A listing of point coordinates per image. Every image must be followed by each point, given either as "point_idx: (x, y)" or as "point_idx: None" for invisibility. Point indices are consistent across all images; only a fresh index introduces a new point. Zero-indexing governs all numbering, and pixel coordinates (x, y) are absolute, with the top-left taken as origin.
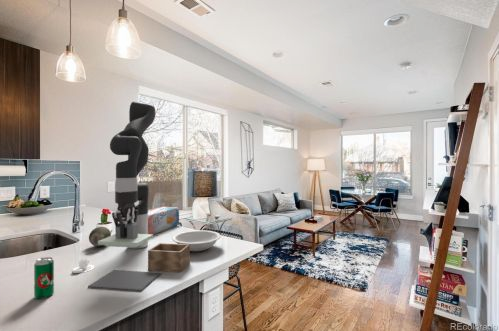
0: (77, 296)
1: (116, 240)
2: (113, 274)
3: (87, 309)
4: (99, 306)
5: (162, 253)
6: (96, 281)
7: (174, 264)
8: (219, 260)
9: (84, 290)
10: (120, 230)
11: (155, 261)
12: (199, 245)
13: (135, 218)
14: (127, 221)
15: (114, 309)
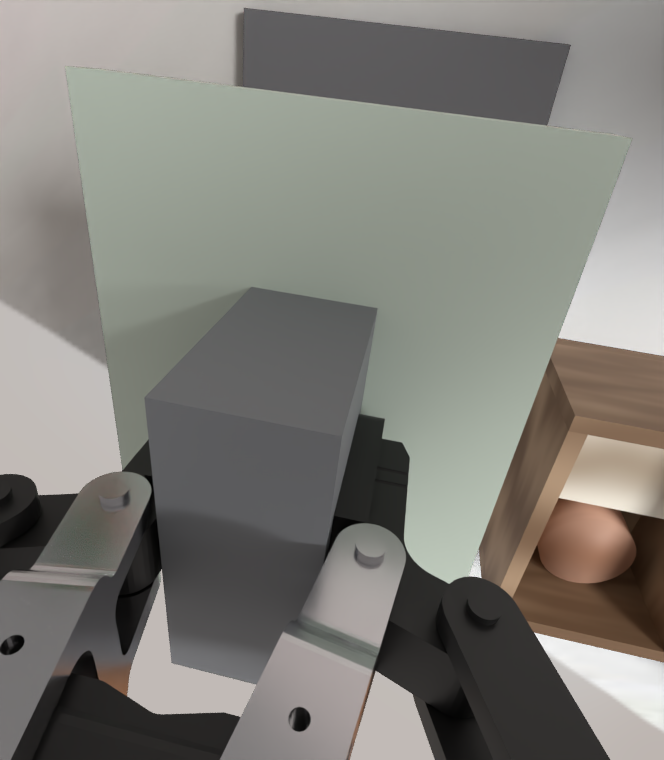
0: (130, 25)
1: (165, 345)
2: (455, 106)
3: (42, 201)
4: (80, 247)
5: (526, 509)
6: (321, 31)
7: (490, 521)
8: (621, 666)
9: (208, 13)
10: (135, 461)
11: (533, 421)
12: None
13: (439, 743)
14: (327, 598)
15: (80, 329)
